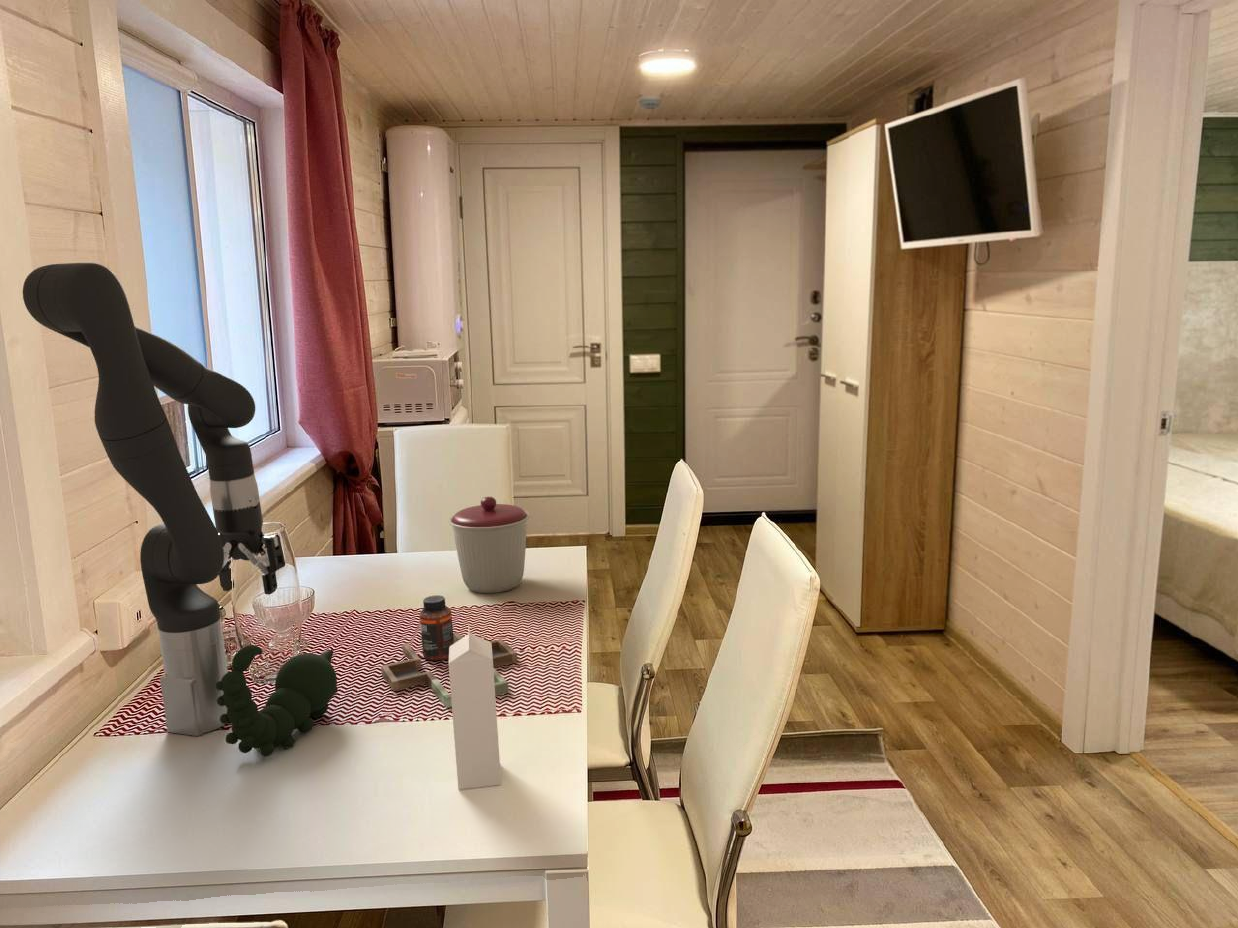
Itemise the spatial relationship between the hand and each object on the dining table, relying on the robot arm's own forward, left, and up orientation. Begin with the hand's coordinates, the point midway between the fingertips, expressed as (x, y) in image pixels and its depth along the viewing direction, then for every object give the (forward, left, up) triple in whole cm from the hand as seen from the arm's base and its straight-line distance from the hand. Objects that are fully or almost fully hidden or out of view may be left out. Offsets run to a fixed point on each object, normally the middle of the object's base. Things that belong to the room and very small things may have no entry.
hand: (249, 591), depth 163 cm
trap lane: (+13, -31, -18) cm, 38 cm away
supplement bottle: (+19, -25, -18) cm, 36 cm away
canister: (+58, -18, -18) cm, 63 cm away
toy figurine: (-14, -17, -18) cm, 28 cm away
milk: (-18, -52, -18) cm, 58 cm away
